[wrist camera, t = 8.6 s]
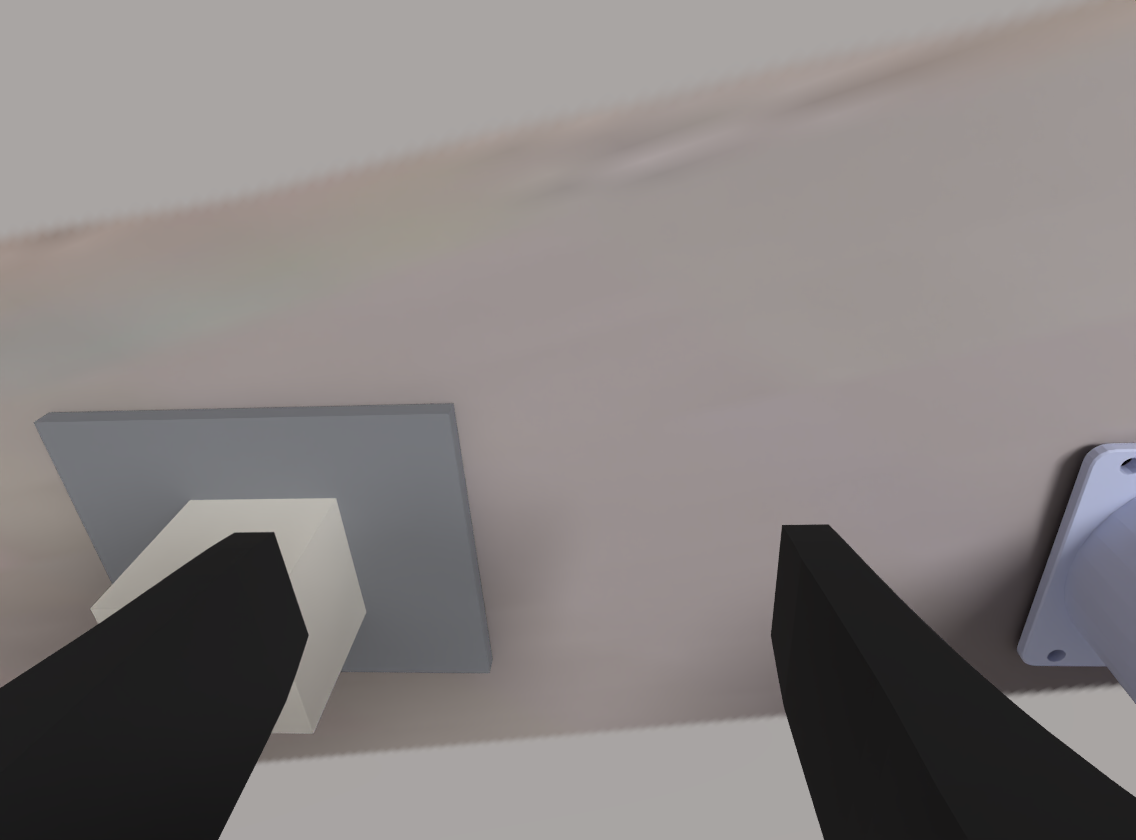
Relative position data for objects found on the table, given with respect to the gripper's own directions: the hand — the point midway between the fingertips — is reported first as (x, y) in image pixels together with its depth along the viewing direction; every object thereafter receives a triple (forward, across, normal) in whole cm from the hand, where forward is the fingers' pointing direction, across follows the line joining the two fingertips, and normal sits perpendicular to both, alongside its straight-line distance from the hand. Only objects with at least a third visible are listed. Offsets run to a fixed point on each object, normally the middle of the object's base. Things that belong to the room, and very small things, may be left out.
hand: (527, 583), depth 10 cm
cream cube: (+9, +9, +7) cm, 14 cm away
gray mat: (+9, +9, +7) cm, 15 cm away
